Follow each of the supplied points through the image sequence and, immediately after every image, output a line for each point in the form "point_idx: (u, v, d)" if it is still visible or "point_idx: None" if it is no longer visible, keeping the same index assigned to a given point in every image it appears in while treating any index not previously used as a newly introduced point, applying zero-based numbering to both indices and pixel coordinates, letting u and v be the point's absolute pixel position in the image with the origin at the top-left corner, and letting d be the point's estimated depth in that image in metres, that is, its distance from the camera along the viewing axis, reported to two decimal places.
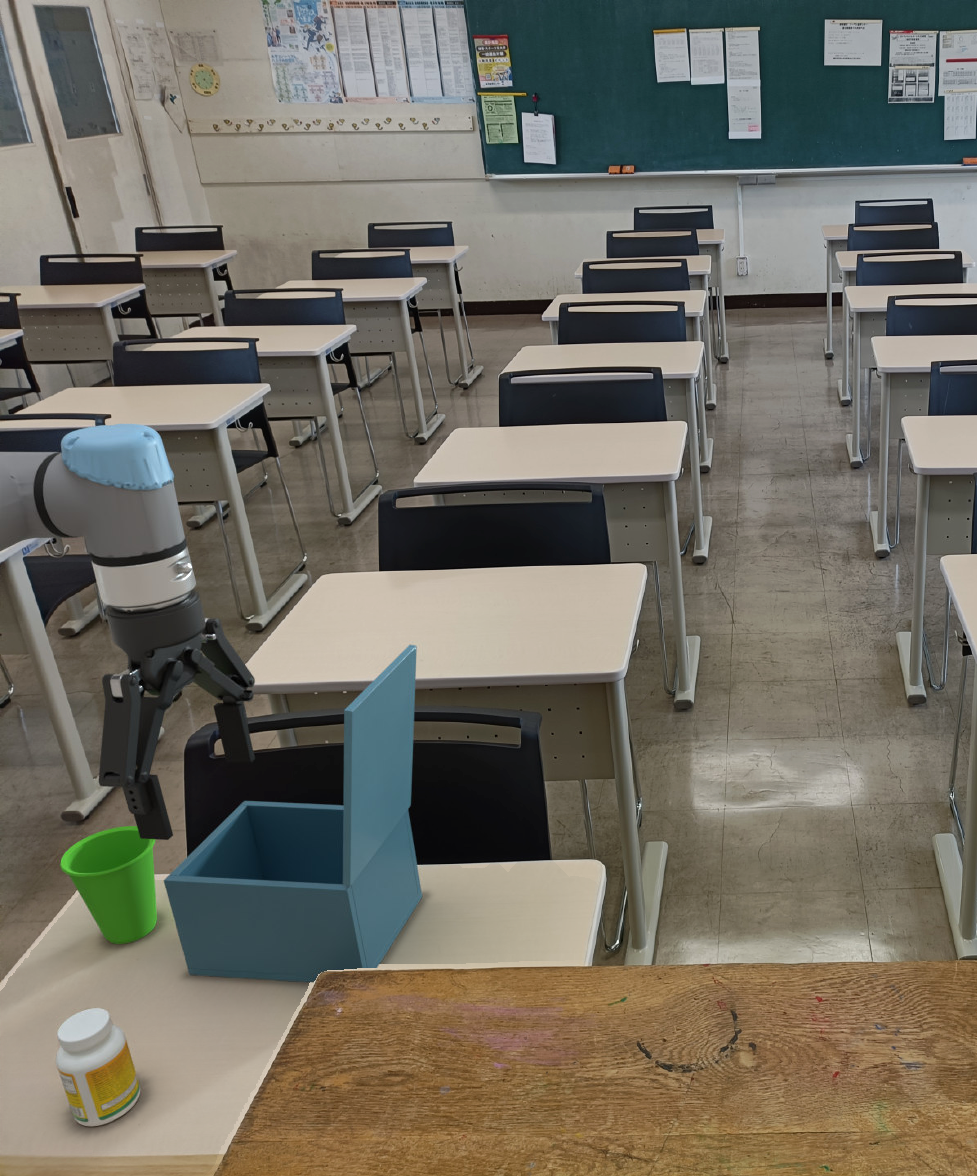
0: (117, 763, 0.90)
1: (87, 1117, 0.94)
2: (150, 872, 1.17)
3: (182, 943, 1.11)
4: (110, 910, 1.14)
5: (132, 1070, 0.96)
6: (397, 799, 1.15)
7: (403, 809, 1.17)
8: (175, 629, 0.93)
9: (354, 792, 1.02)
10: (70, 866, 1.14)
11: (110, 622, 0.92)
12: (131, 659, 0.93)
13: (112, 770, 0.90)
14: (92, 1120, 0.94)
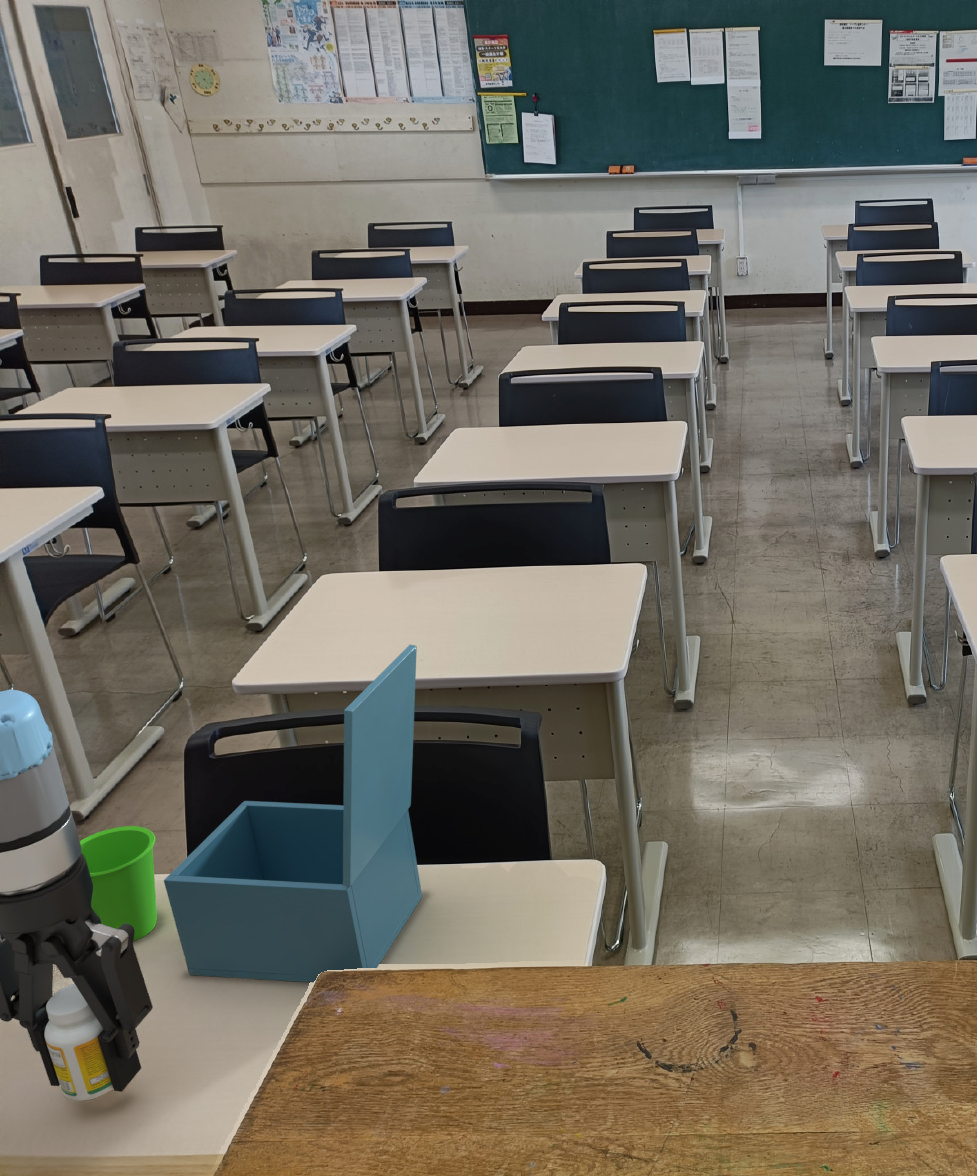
0: (142, 999, 0.92)
1: (75, 1091, 0.93)
2: (150, 872, 1.17)
3: (182, 943, 1.11)
4: (110, 910, 1.14)
5: None
6: (397, 799, 1.15)
7: (403, 809, 1.17)
8: None
9: (354, 792, 1.02)
10: None
11: (52, 899, 0.85)
12: (82, 919, 0.88)
13: (141, 1008, 0.92)
14: (81, 1094, 0.93)
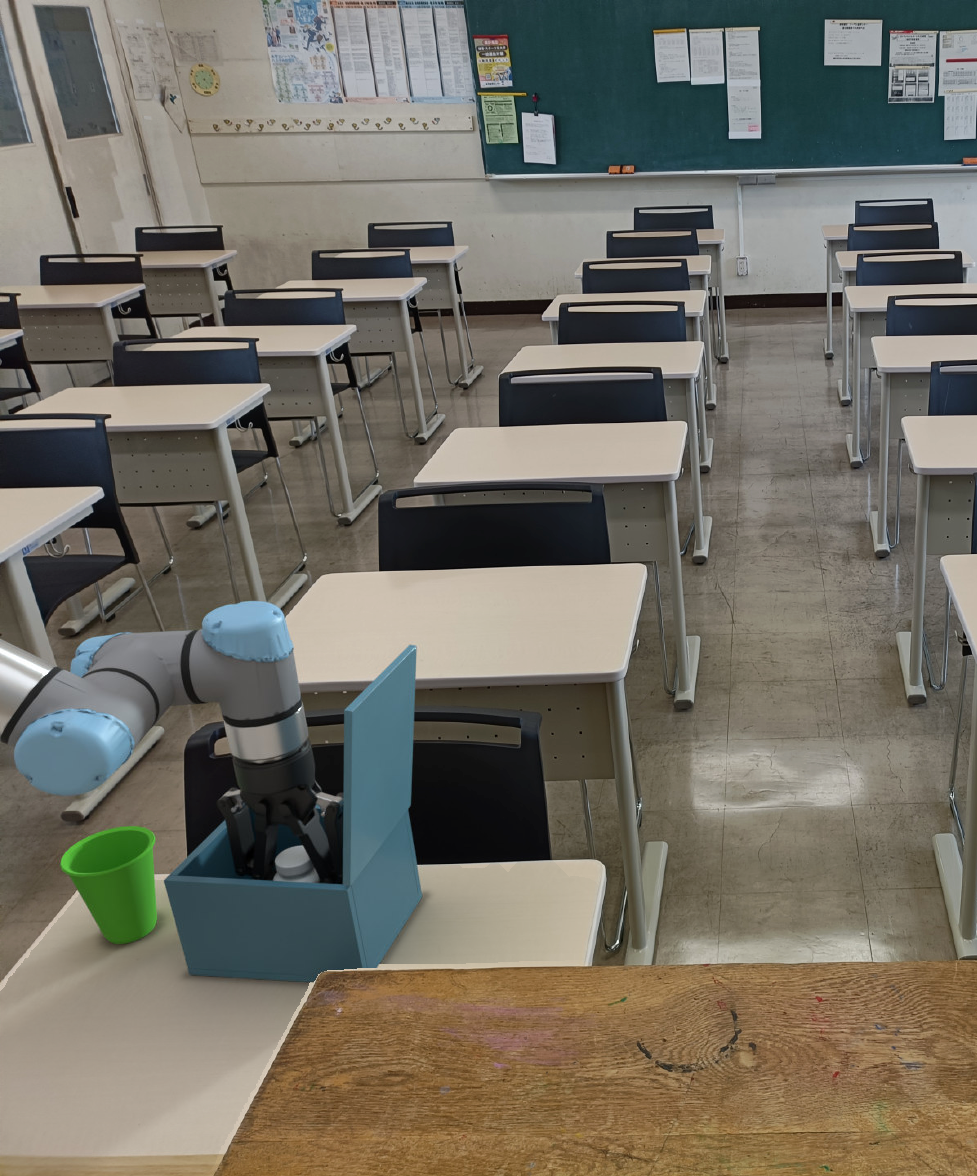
0: None
1: None
2: (150, 872, 1.17)
3: (182, 943, 1.11)
4: (110, 910, 1.14)
5: None
6: (397, 799, 1.15)
7: (403, 809, 1.17)
8: None
9: (354, 792, 1.02)
10: (70, 866, 1.14)
11: (291, 767, 1.08)
12: (310, 786, 1.10)
13: None
14: None
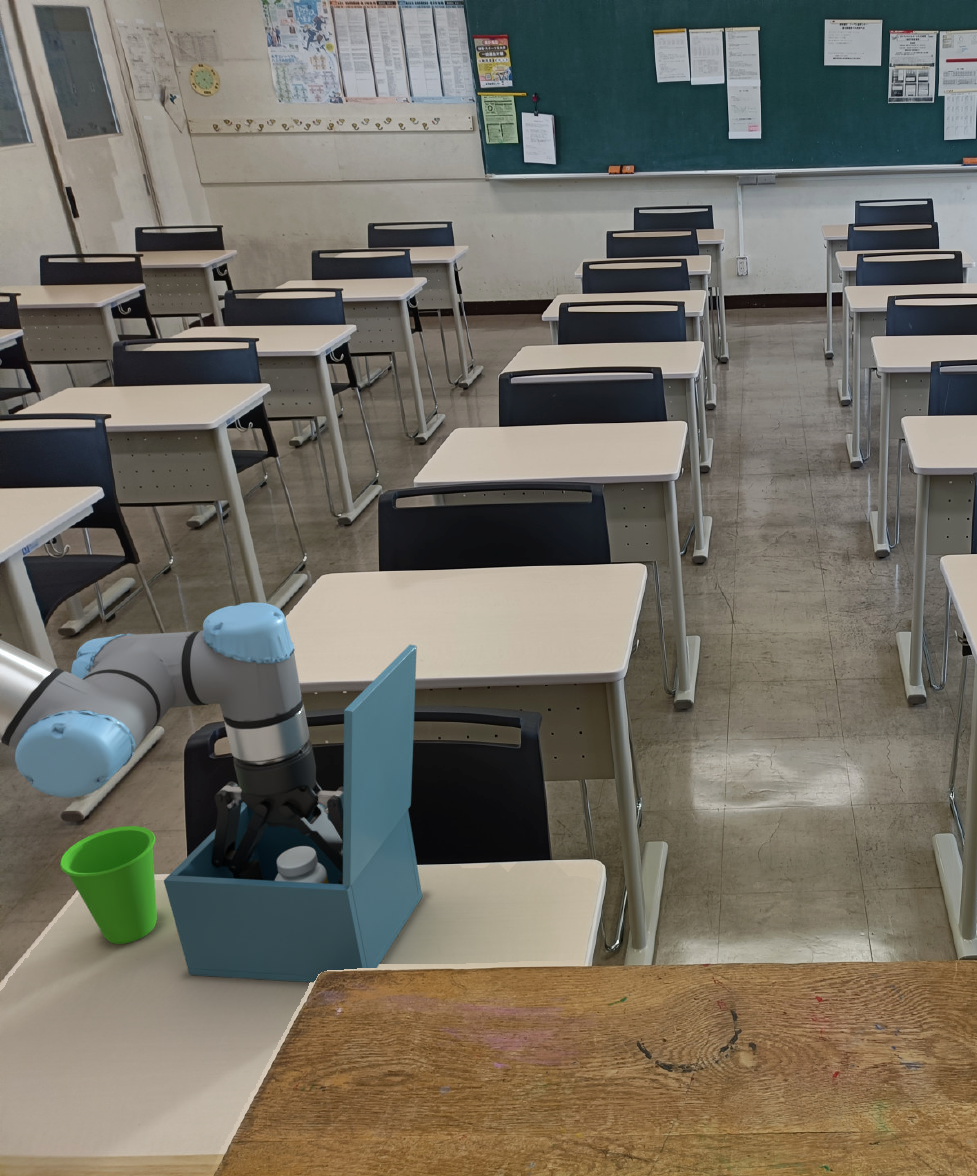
0: None
1: None
2: (150, 872, 1.17)
3: (182, 943, 1.11)
4: (110, 910, 1.14)
5: None
6: (397, 799, 1.15)
7: (403, 809, 1.17)
8: None
9: (354, 792, 1.02)
10: (70, 866, 1.14)
11: (292, 768, 1.08)
12: (311, 788, 1.10)
13: None
14: None
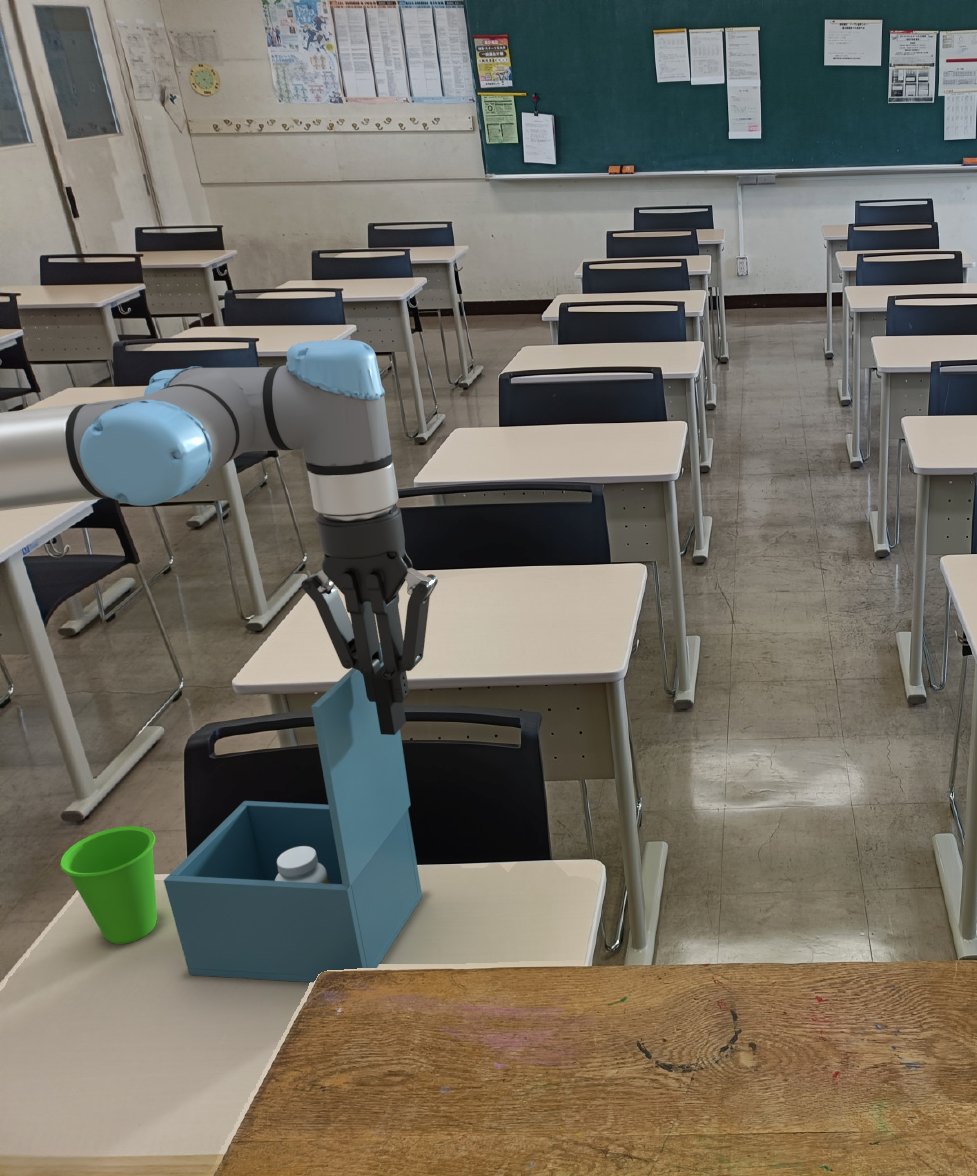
0: (421, 647, 1.04)
1: None
2: (150, 872, 1.17)
3: (182, 943, 1.11)
4: (110, 910, 1.14)
5: None
6: (392, 798, 1.15)
7: (402, 808, 1.17)
8: None
9: (337, 789, 1.03)
10: (70, 866, 1.14)
11: (382, 528, 0.97)
12: (401, 556, 0.99)
13: (418, 654, 1.04)
14: None
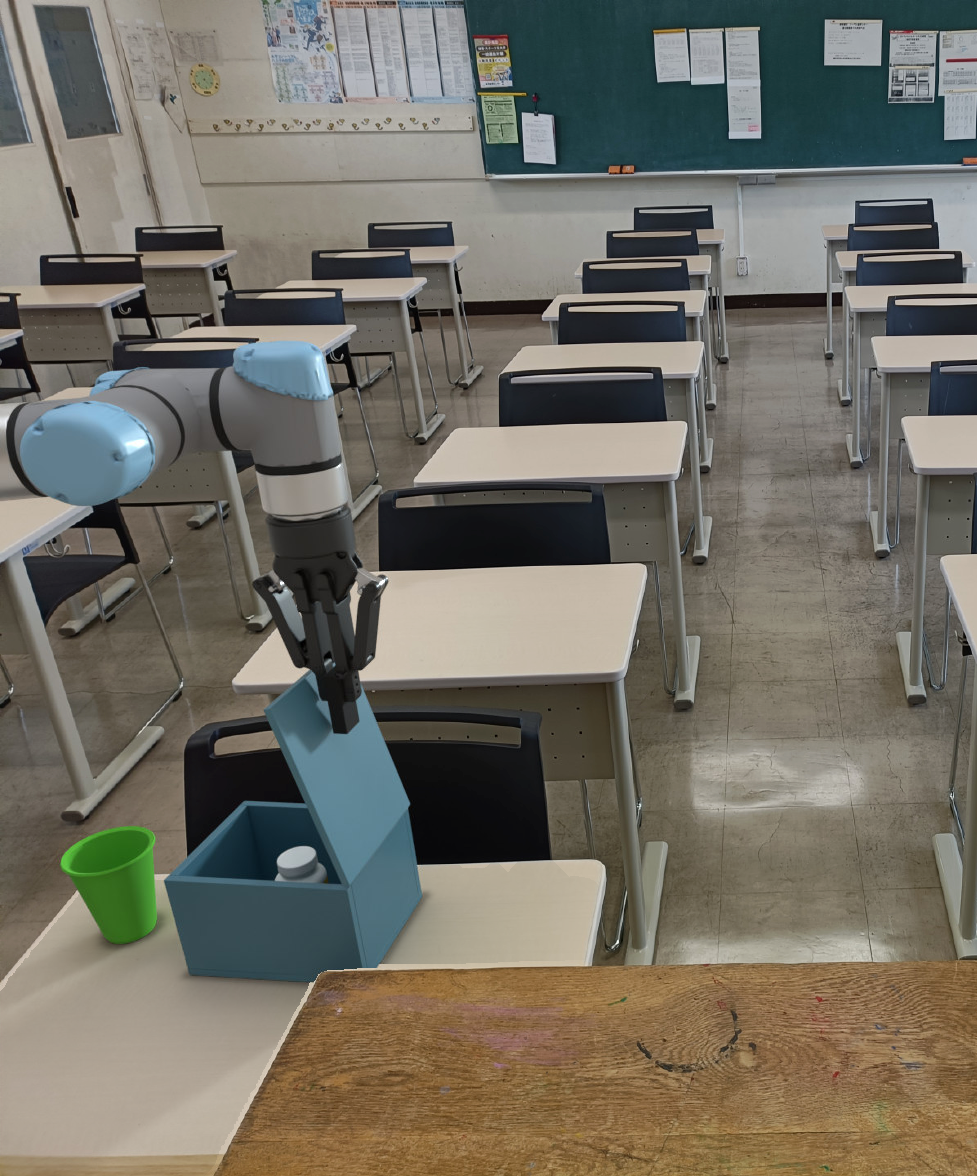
0: (373, 646, 1.04)
1: None
2: (150, 872, 1.17)
3: (182, 943, 1.11)
4: (110, 910, 1.14)
5: None
6: (385, 798, 1.15)
7: (400, 808, 1.17)
8: None
9: (312, 790, 1.03)
10: (70, 866, 1.14)
11: (331, 528, 0.97)
12: (350, 556, 1.00)
13: (370, 653, 1.04)
14: None
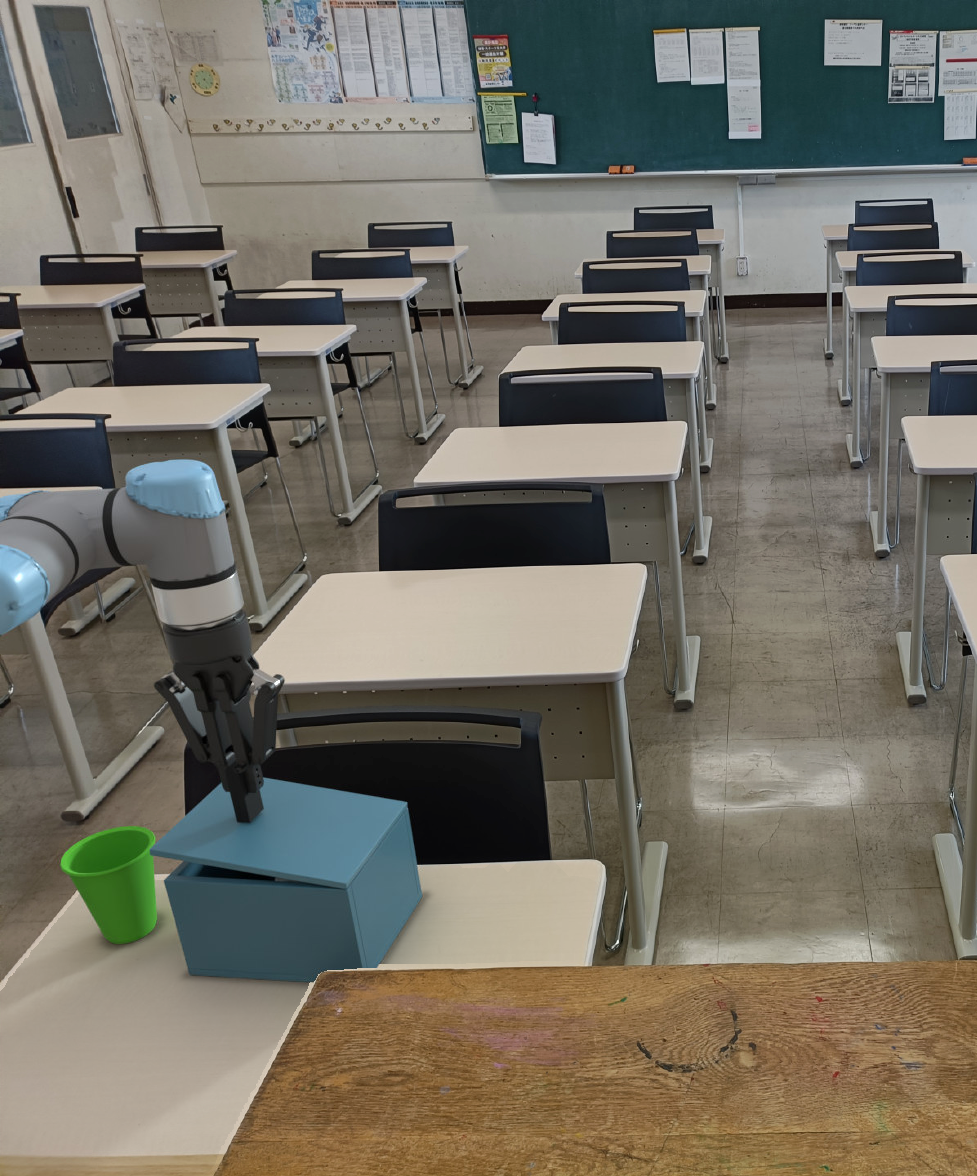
0: (272, 741, 1.10)
1: None
2: (150, 872, 1.17)
3: (182, 943, 1.11)
4: (110, 910, 1.14)
5: None
6: (363, 816, 1.16)
7: (392, 810, 1.18)
8: None
9: (244, 860, 1.07)
10: (70, 866, 1.14)
11: (224, 636, 1.03)
12: (246, 659, 1.05)
13: (269, 748, 1.10)
14: None
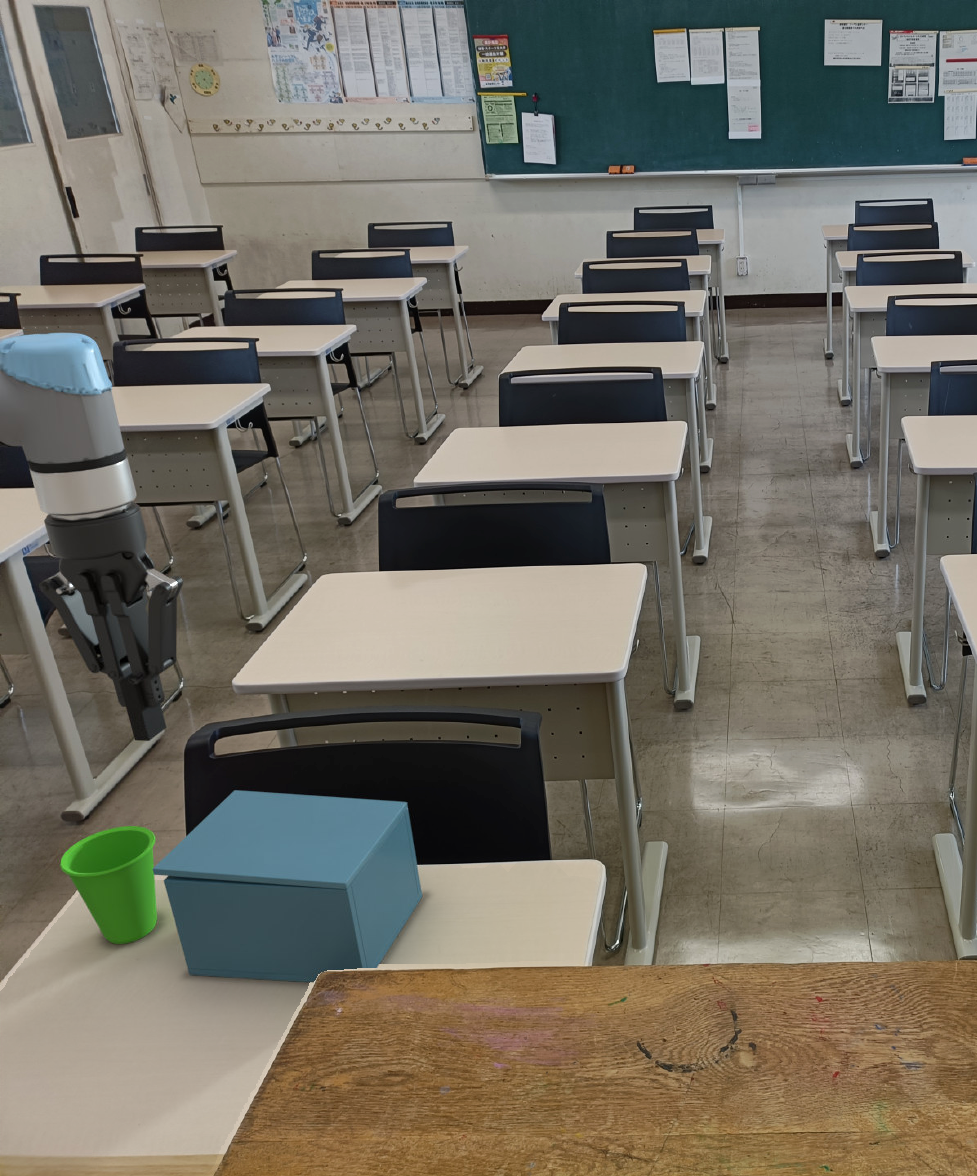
0: (171, 650, 1.01)
1: None
2: (150, 872, 1.17)
3: (182, 943, 1.11)
4: (110, 910, 1.14)
5: None
6: (363, 819, 1.16)
7: (391, 811, 1.18)
8: None
9: (245, 871, 1.07)
10: (70, 866, 1.14)
11: (112, 528, 0.94)
12: (138, 556, 0.96)
13: (168, 657, 1.01)
14: None
